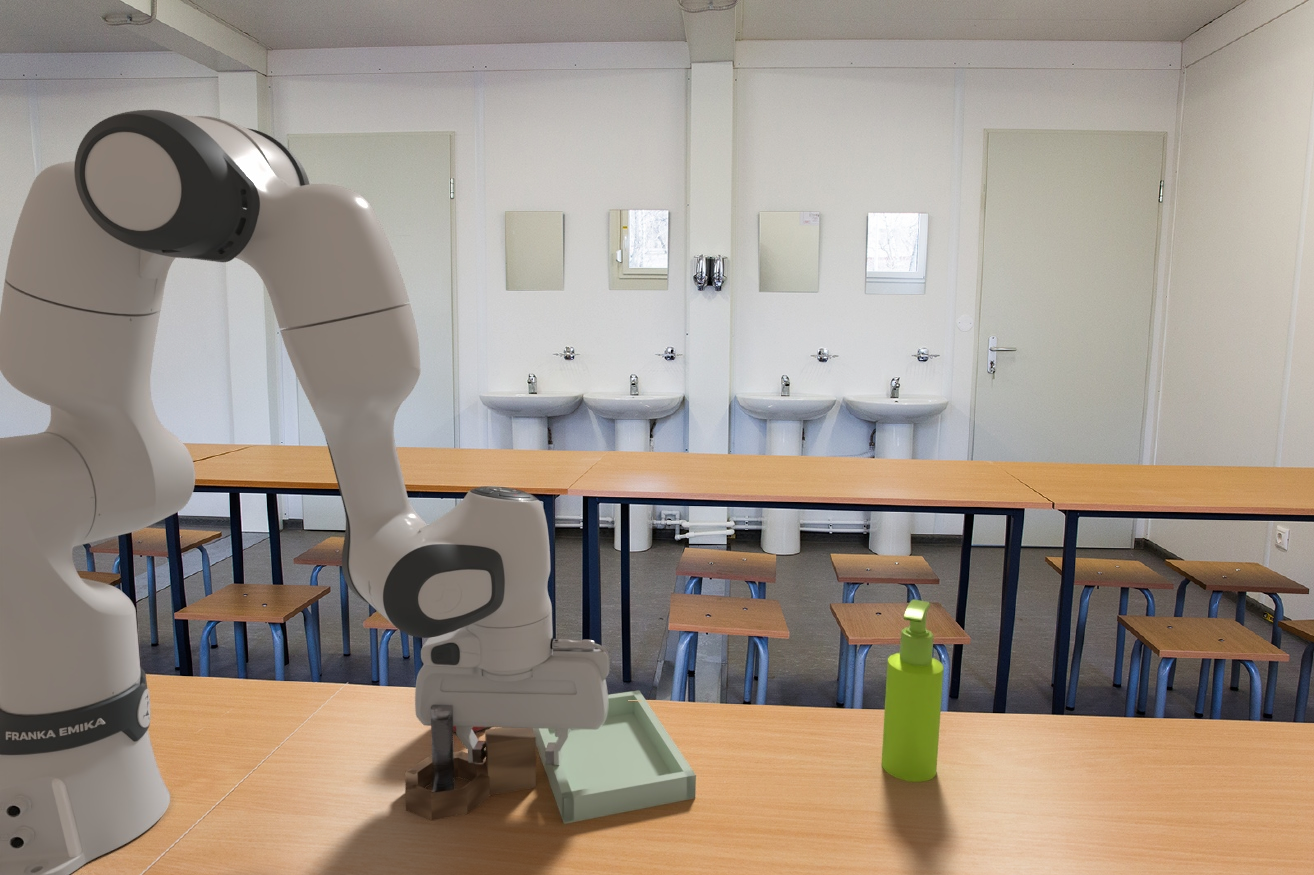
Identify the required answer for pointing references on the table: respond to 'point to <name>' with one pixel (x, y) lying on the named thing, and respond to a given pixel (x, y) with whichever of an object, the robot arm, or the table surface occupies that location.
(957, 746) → the table surface
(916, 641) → the soap dispenser
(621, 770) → the tray
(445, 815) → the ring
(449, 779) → the dark grey metal cylinder
